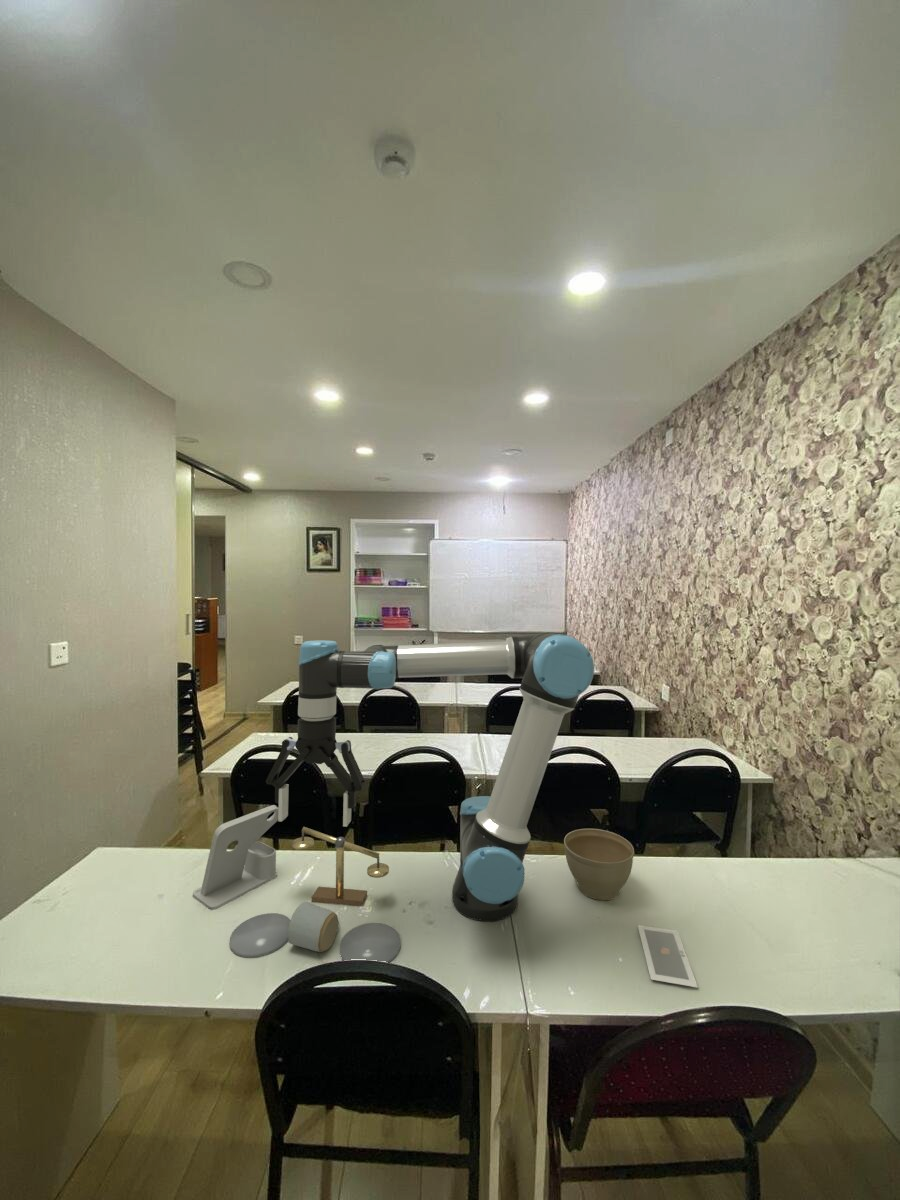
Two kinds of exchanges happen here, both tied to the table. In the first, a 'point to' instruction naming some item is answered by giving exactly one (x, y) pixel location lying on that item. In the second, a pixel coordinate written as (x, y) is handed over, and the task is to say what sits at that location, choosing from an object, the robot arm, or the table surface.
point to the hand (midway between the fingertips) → (314, 821)
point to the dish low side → (371, 943)
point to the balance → (340, 870)
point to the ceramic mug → (313, 927)
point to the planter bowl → (599, 861)
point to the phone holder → (238, 859)
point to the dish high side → (260, 935)
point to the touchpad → (666, 956)
